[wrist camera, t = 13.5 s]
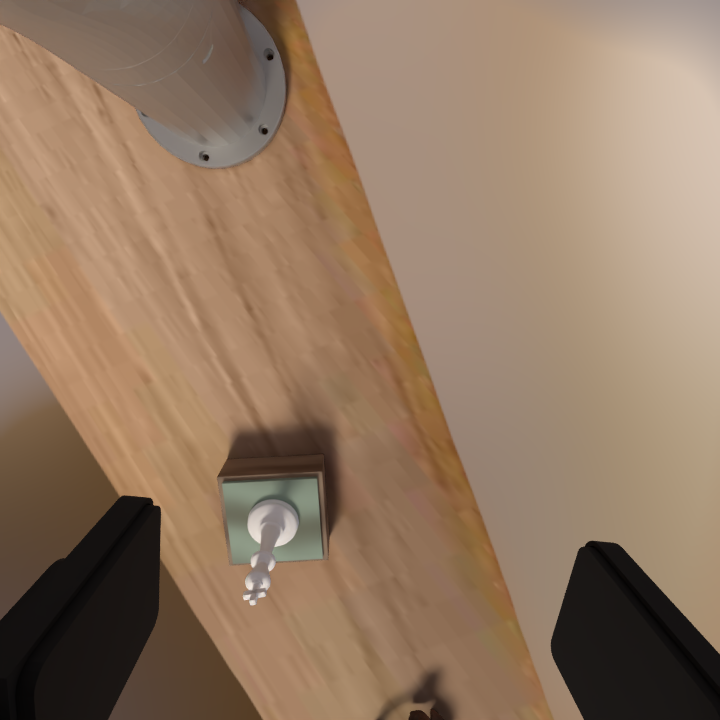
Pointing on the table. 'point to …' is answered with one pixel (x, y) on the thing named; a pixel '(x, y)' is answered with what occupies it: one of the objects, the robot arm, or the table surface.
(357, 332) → the table surface
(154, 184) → the table surface
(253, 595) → the chess piece
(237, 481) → the pedestal
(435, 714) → the brown curved open ring
